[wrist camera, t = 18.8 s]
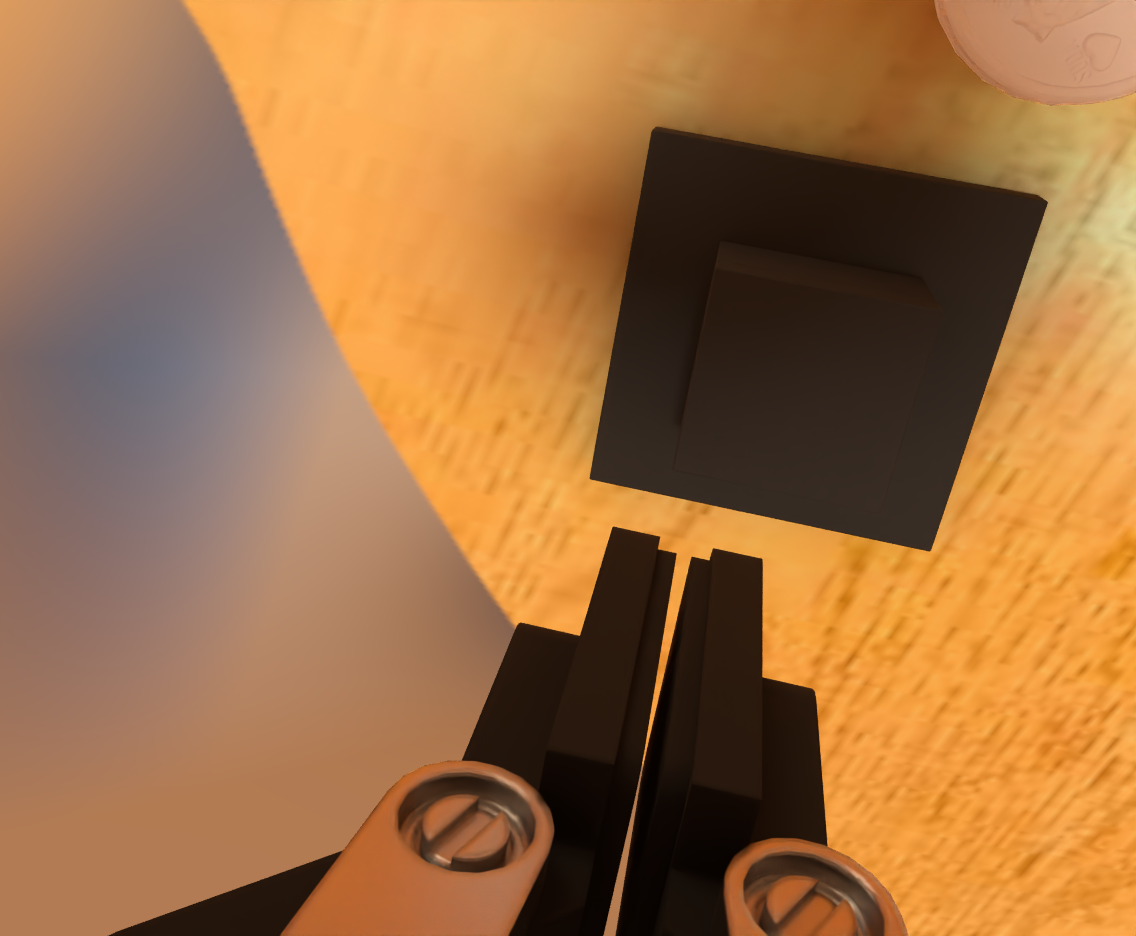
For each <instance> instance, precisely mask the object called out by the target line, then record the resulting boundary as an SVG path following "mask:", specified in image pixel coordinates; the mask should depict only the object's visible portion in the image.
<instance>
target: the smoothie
mask: <svg viewBox="0 0 1136 936" xmlns="http://www.w3.org/2000/svg"><path fill="white" fill-rule="evenodd" d="M934 2H935V7H936V12H937V17H938V20H939V22H940V24H941V26H942V28H943V30H944V32H945V33H946V35H947V37H948V39H949V41H950V43H951V45H952V47H953V49H954V51H955V53H956V54H957V55H958V56H959V57H960V58H961V59H962V60H963V61H964V62H965V63H966V64H967V65H968V66H969V67H970V68H971V69H972V70H973V71H974V72H975V73H976V75H977V76H978V77H979V78H980V79H981V80H983V81H985V82H987V83H989V84H991V85H992V86H994V87H996V88H998V89H1000V90H1001V91H1003V92H1005V93H1007V94H1009V95H1011V96H1012V97H1015V98H1019V99H1024V100H1029V101H1033V102H1038V103H1042V104H1047V105H1076V104H1091V103H1099V102H1105V101H1109V100H1114V99H1118V98H1121V97H1124V96H1127V95H1130V94H1133V93H1136V0H934Z"/></svg>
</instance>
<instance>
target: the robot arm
mask: <svg viewBox="0 0 1136 936" xmlns="http://www.w3.org/2000/svg"><path fill="white" fill-rule="evenodd" d="M659 540H660V537H659V536H654V535H650V534H645V533H640V532H636V531H631V530H627V529H622V528H617V527H613V528H612V531H611V534H610V537H609V541H608V544H607V547H606V551H605V554H604V558H603V561H602V564H601V568H600V571H599V574H598V578H597V581H596V584H595V588H594V591H593V594H592V598H591V601H590V604H589V608H588V611H587V614H586V618H585V621H584V624H583V628H582V631H581V635H580V636H578V635H574V634H569V633H565V632H560V631H556V630H552V629H547V628H543V627H538V626H534V625H529V624H525V623H519V624H518V625H517V627H516V629H515V632H514V634H513V636H512V639H511V641H510V644H509V646H508V649H507V651H506V654H505V656H504V658H503V662H502V663H501V666H500V668H499V671H498V673H497V676H496V678H495V681H494V683H493V685H492V688H491V690H490V693H489V695H488V698H487V700H486V703H485V705H484V707H483V710H482V713H481V715H480V717H479V720H478V722H477V725H476V727H475V729H474V732H473V735H472V737H471V739H470V742H469V744H468V747H467V749H466V751H465V754H464V757H463V759H462V761H445V762H440V763H435V764H430V765H425V766H423V767H421V768H419V769H417V770H415V771H413V772H411V773H408V774H407V775H404V776H403V777H402V778H401V779H400V780H399V781H398V782H397V783H395V785H393V786H392V787H391V788H390V789H389V790H388V791H387V793H386V794H385V795H384V797H383V798H382V799H381V801H380V802H379V803H378V805H377V806H376V807H375V809H374V810H373V811H372V813H371V814H370V815H369V817H368V818H367V819H366V821H365V822H364V823H363V825H362V826H361V827H360V829H359V830H358V831H357V833H356V834H355V835H354V837H353V838H352V839H351V841H350V842H349V844H348V845H347V846H346V847H345V849H344V850H343V851H340V852H338V853H335V854H332V855H329V856H326V857H324V858H321V859H318V860H315V861H313V862H310V863H307V864H304V865H301V866H299V867H296V868H294V869H291V870H288V871H285V872H282V873H279V874H277V875H273V876H271V877H268V878H265V879H262V880H260V881H257V882H254V883H251V884H248V885H246V886H243V887H240V888H237V889H235V890H232V891H229V892H226V893H223V894H220V895H218V896H215V897H212V898H210V899H207V900H204V901H201V902H198V903H196V904H193V905H190V906H187V907H184V908H182V909H179V910H176V911H173V912H170V913H167V914H165V915H162V916H159V917H156V918H154V919H151V920H148V921H145V922H143V923H140V924H137V925H134V926H131V927H128V928H126V929H123V930H120V931H118V932H115V933H113V934H111V935H109V936H603V935H604V931H605V926H606V922H607V917H608V913H609V908H610V905H611V900H612V896H613V892H614V887H615V882H616V878H617V874H618V870H619V865H620V861H621V857H622V852H623V848H624V844H625V839H626V835H627V831H628V826H629V822H630V818H631V813H632V809H633V805H634V800H635V796H636V790H637V785H638V781H639V776H640V771H641V766H642V761H643V755H644V750H645V744H646V738H647V731H648V725H649V719H650V713H651V707H652V701H653V695H654V689H655V683H656V676H657V670H658V664H659V658H660V652H661V646H662V640H663V634H664V628H665V622H666V615H667V609H668V603H669V597H670V591H671V585H672V579H673V573H674V567H675V560H676V554H677V553H672V552H668V551H663V550H659V549H658V545H659ZM762 598H763V562H762V559H760V558H756V557H751V556H747V555H742V554H737V553H733V552H728V551H724V550H719V549H714V548H713V550H712V553H711V557H710V561H709V560H705V559H700V558H695V557H692V558H691V561H690V565H689V569H688V574H687V578H686V582H685V587H684V591H683V595H682V600H681V604H680V608H679V613H678V617H677V621H676V626H675V630H674V634H673V639H672V643H671V647H670V652H669V656H668V660H667V665H666V669H665V673H664V678H663V682H662V686H661V691H660V695H659V699H658V704H657V708H656V712H655V717H654V721H653V725H652V730H651V734H650V738H649V743H648V747H647V752H646V756H645V761H644V766H643V771H642V777H641V782H640V788H639V794H638V801H637V806H636V813H635V819H634V825H633V832H632V838H631V843H630V850H629V856H628V862H627V868H626V875H625V880H624V887H623V893H622V899H621V906H620V912H619V917H618V924H617V930H616V936H908V933H907V930H906V927H905V924H904V921H903V918H902V915H901V914H900V912H899V910H898V908H897V906H896V904H895V902H894V900H893V898H892V896H891V894H890V893H889V892H888V891H887V890H886V889H885V887H884V886H883V885H882V884H881V883H880V882H879V881H878V880H877V878H876V877H875V876H874V875H873V874H872V873H871V872H869V871H868V870H866V869H865V868H864V867H862V866H861V865H860V864H858V863H857V862H856V861H854V860H853V859H851V858H850V857H848V856H846V855H844V854H842V853H840V852H838V851H836V850H833V849H831V848H829V847H828V846H827V833H826V820H825V807H824V794H823V781H822V768H821V755H820V742H819V729H818V716H817V703H816V696H815V691H814V690H813V689H811V688H807V687H803V686H798V685H794V684H789V683H785V682H781V681H776V680H772V679H767V678H763V677H762Z"/></svg>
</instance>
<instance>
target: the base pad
mask: <svg viewBox="0 0 1136 936" xmlns="http://www.w3.org/2000/svg"><path fill="white" fill-rule="evenodd" d="M1047 204H1048V201H1046V200H1044V199H1043V198H1041V197H1040V196H1038V195H1034V194H1028V193H1022V192H1017V191H1011V190H1006V189H1000V188H995V187H989V186H984V185H978V184H972V183H967V182H961V181H956V180H950V179H945V178H939V177H934V176H928V175H922V174H917V173H911V172H906V171H900V170H895V169H889V168H884V167H878V166H872V165H867V164H861V163H856V162H850V161H845V160H839V159H833V158H828V157H822V156H817V155H811V154H806V153H800V152H795V151H789V150H783V149H778V148H772V147H767V146H761V145H756V144H750V143H745V142H739V141H733V140H728V139H722V138H717V137H711V136H706V135H700V134H695V133H689V132H683V131H678V130H672V129H667V128H661V127H655V128H654V129H653V130H652V132H651V138H650V143H649V149H648V154H647V160H646V166H645V171H644V177H643V182H642V188H641V194H640V199H639V205H638V210H637V216H636V222H635V227H634V233H633V238H632V244H631V250H630V255H629V261H628V266H627V272H626V278H625V283H624V289H623V294H622V300H621V305H620V311H619V317H618V322H617V328H616V333H615V339H614V345H613V350H612V356H611V361H610V367H609V373H608V378H607V384H606V389H605V395H604V401H603V406H602V412H601V417H600V423H599V429H598V434H597V440H596V445H595V451H594V456H593V462H592V468H591V473H590V479H591V480H596V481H601V482H605V483H610V484H615V485H619V486H624V487H629V488H633V489H638V490H643V491H648V492H652V493H657V494H662V495H666V496H671V497H676V498H680V499H685V500H690V501H695V502H699V503H704V504H709V505H713V506H718V507H723V508H727V509H732V510H737V511H742V512H746V513H751V514H756V515H760V516H765V517H770V518H775V519H779V520H784V521H789V522H793V523H798V524H803V525H807V526H812V527H817V528H822V529H826V530H831V531H836V532H840V533H845V534H850V535H854V536H859V537H864V538H869V539H873V540H878V541H883V542H887V543H892V544H897V545H901V546H906V547H911V548H916V549H920V550H925V551H931V549H932V546H933V543H934V540H935V537H936V534H937V531H938V528H939V525H940V522H941V519H942V516H943V513H944V510H945V507H946V504H947V501H948V498H949V495H950V492H951V489H952V486H953V483H954V480H955V477H956V474H957V471H958V468H959V465H960V462H961V459H962V456H963V454H964V451H965V448H966V445H967V442H968V439H969V436H970V433H971V430H972V427H973V424H974V421H975V418H976V415H977V412H978V409H979V406H980V403H981V400H982V397H983V394H984V391H985V388H986V385H987V382H988V379H989V376H990V373H991V370H992V367H993V364H994V361H995V358H996V355H997V352H998V349H999V346H1000V343H1001V340H1002V338H1003V335H1004V332H1005V329H1006V326H1007V323H1008V320H1009V317H1010V314H1011V311H1012V308H1013V305H1014V302H1015V299H1016V296H1017V293H1018V290H1019V287H1020V284H1021V281H1022V278H1023V275H1024V272H1025V269H1026V266H1027V263H1028V260H1029V257H1030V254H1031V251H1032V248H1033V245H1034V242H1035V239H1036V236H1037V233H1038V230H1039V227H1040V224H1041V221H1042V219H1043V216H1044V213H1045V210H1046V207H1047ZM721 241H725V242H730V243H736V244H741V245H746V246H752V247H757V248H762V249H767V250H773V251H778V252H783V253H789V254H794V255H799V256H805V257H810V258H815V259H820V260H826V261H831V262H836V263H842V264H847V265H852V266H857V267H863V268H868V269H873V270H879V271H884V272H889V273H894V274H900V275H905V276H910V277H916V278H921V279H923V280H924V281H925V283H926V284H927V286H928V288H929V289H930V291H931V292H932V294H933V296H934V297H935V299H936V301H937V303H938V304H939V306H940V308H941V309H942V311H943V313H942V317H941V320H940V323H939V326H938V330H937V333H936V336H935V339H934V343H933V346H932V349H931V352H930V356H929V359H928V362H927V365H926V369H925V372H924V375H923V378H922V381H921V385H920V388H919V391H918V394H917V398H916V401H915V404H914V407H913V411H912V414H911V417H910V420H909V424H908V427H907V430H906V433H905V437H904V440H903V443H902V446H901V449H900V453H899V456H898V459H897V462H896V466H895V469H894V472H893V475H892V479H891V482H890V485H889V488H888V492H887V495H886V498H885V501H884V505H883V508H882V511H881V513H880V514H877V513H873V512H868V511H863V510H858V509H854V508H849V507H844V506H839V505H835V504H830V503H825V502H820V501H816V500H811V499H806V498H801V497H797V496H792V495H787V494H782V493H778V492H773V491H768V490H763V489H759V488H754V487H749V486H744V485H740V484H735V483H730V482H725V481H721V480H716V479H711V478H706V477H702V476H697V475H692V474H687V473H682V472H678V471H674V470H673V469H672V467H673V462H674V457H675V452H676V447H677V442H678V438H679V433H680V428H681V423H682V418H683V414H684V409H685V404H686V400H687V395H688V390H689V385H690V381H691V376H692V371H693V367H694V362H695V357H696V353H697V348H698V343H699V339H700V334H701V329H702V325H703V320H704V315H705V310H706V306H707V301H708V296H709V292H710V287H711V282H712V278H713V273H714V268H715V264H716V259H717V254H718V249H719V245H720V242H721Z"/></svg>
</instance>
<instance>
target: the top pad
mask: <svg viewBox="0 0 1136 936" xmlns="http://www.w3.org/2000/svg"><path fill="white" fill-rule="evenodd" d="M942 313H943V311H942V309H941V308H940V306H939V304H938V303H937V301H936V299H935V297H934V296H933V294H932V292H931V291H930V289H929V288H928V286H927V284H926V283H925V281H924V280H923V279H921V278H916V277H910V276H905V275H900V274H894V273H889V272H884V271H879V270H873V269H868V268H863V267H857V266H852V265H847V264H842V263H836V262H831V261H826V260H820V259H815V258H810V257H805V256H799V255H794V254H789V253H783V252H778V251H773V250H767V249H762V248H757V247H752V246H746V245H741V244H736V243H730V242H725V241H721V242H720V245H719V249H718V254H717V259H716V264H715V268H714V273H713V278H712V282H711V287H710V292H709V296H708V301H707V306H706V310H705V315H704V320H703V325H702V329H701V334H700V339H699V343H698V348H697V353H696V357H695V362H694V367H693V371H692V376H691V381H690V385H689V390H688V395H687V400H686V404H685V409H684V414H683V418H682V423H681V428H680V433H679V438H678V442H677V447H676V452H675V457H674V462H673V467H672V469H673V470H674V471H678V472H682V473H687V474H692V475H697V476H702V477H706V478H711V479H716V480H721V481H725V482H730V483H735V484H740V485H744V486H749V487H754V488H759V489H763V490H768V491H773V492H778V493H782V494H787V495H792V496H797V497H801V498H806V499H811V500H816V501H820V502H825V503H830V504H835V505H839V506H844V507H849V508H854V509H858V510H863V511H868V512H873V513H877V514H880V513H881V511H882V508H883V505H884V501H885V498H886V495H887V492H888V488H889V485H890V482H891V479H892V475H893V472H894V469H895V466H896V462H897V459H898V456H899V453H900V449H901V446H902V443H903V440H904V437H905V433H906V430H907V427H908V424H909V420H910V417H911V414H912V411H913V407H914V404H915V401H916V398H917V394H918V391H919V388H920V385H921V381H922V378H923V375H924V372H925V369H926V365H927V362H928V359H929V356H930V352H931V349H932V346H933V343H934V339H935V336H936V333H937V330H938V326H939V323H940V320H941V317H942Z"/></svg>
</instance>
